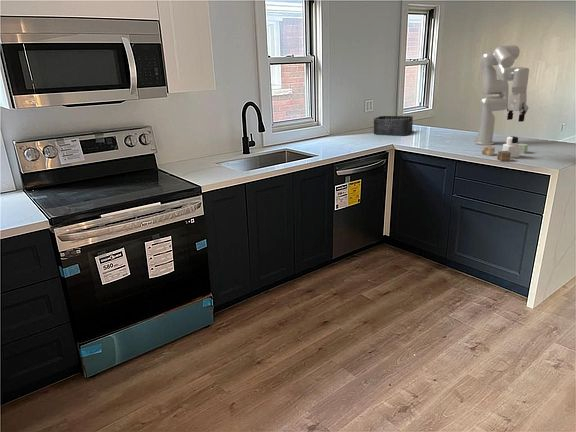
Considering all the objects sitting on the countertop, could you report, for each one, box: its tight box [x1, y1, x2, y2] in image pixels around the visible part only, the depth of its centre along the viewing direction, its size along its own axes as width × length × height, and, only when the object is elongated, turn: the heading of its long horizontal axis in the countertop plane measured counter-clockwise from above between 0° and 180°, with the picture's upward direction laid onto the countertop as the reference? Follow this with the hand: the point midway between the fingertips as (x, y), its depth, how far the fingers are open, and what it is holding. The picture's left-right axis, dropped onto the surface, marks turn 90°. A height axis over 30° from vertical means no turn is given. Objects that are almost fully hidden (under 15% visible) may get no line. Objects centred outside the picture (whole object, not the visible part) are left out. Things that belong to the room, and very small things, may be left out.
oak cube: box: [481, 145, 496, 156], centre depth 262 cm, size 5×5×5 cm
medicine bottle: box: [501, 135, 521, 159], centre depth 253 cm, size 7×7×12 cm
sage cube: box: [517, 143, 529, 154], centre depth 263 cm, size 5×5×5 cm
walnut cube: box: [496, 150, 511, 162], centre depth 247 cm, size 5×5×5 cm
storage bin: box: [373, 115, 414, 137], centre depth 347 cm, size 29×19×13 cm
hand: (515, 120), depth 247 cm, fingers open, 9 cm apart
